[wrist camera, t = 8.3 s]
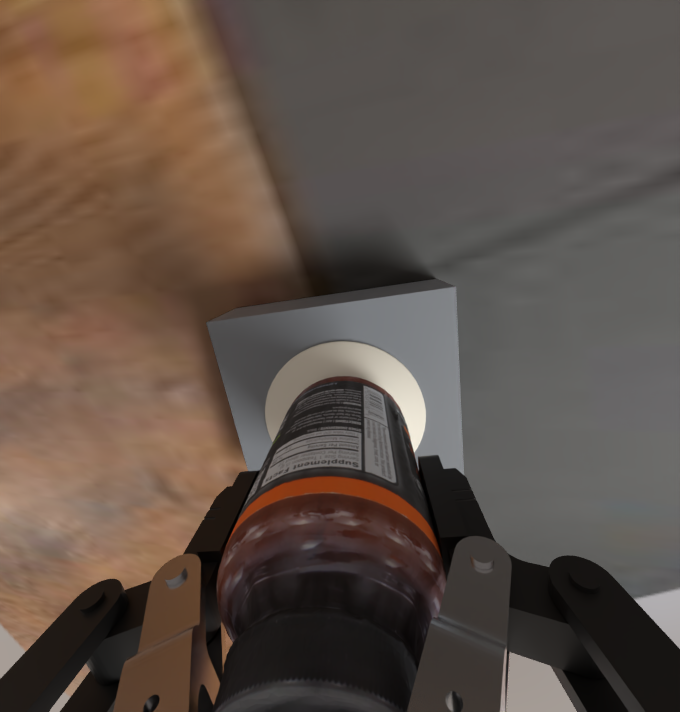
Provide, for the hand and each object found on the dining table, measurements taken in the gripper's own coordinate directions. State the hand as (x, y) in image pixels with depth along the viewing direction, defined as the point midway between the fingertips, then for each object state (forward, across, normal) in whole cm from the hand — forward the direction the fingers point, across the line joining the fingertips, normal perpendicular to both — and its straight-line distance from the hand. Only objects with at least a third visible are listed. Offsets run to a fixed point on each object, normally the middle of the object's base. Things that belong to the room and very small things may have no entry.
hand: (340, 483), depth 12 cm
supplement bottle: (+4, 0, 0) cm, 4 cm away
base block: (+9, 0, 0) cm, 9 cm away
